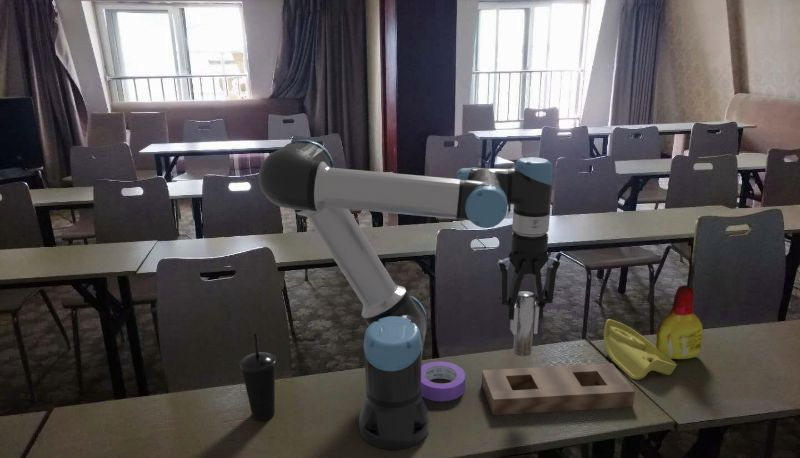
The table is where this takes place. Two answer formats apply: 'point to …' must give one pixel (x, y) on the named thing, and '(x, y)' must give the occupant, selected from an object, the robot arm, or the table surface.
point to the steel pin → (524, 323)
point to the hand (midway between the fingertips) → (523, 331)
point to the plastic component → (634, 351)
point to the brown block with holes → (556, 389)
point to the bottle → (681, 328)
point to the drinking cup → (260, 382)
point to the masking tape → (447, 389)
